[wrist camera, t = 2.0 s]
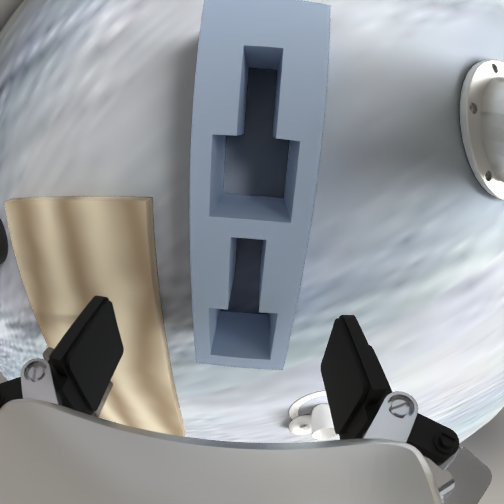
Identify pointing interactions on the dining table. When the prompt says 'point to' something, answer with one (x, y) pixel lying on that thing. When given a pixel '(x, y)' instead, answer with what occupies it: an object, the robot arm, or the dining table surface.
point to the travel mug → (3, 243)
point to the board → (101, 292)
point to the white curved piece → (312, 419)
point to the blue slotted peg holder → (248, 206)
